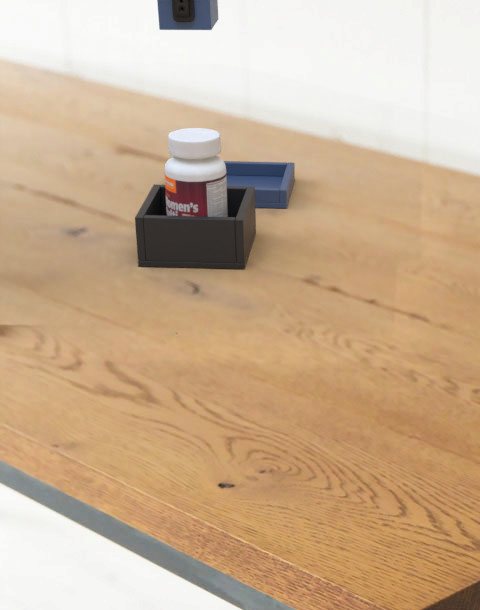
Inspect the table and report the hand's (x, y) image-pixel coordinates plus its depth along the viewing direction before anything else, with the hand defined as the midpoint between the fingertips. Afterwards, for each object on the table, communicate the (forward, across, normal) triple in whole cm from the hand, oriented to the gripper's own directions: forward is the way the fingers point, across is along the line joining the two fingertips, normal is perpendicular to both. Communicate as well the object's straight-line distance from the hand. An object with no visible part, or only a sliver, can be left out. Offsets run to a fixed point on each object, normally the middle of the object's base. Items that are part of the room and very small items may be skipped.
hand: (188, 14), depth 143 cm
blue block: (+1, 0, 0) cm, 1 cm away
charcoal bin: (+20, +17, +2) cm, 26 cm away
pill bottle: (+20, +17, +2) cm, 26 cm away
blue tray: (+20, -2, +3) cm, 21 cm away
